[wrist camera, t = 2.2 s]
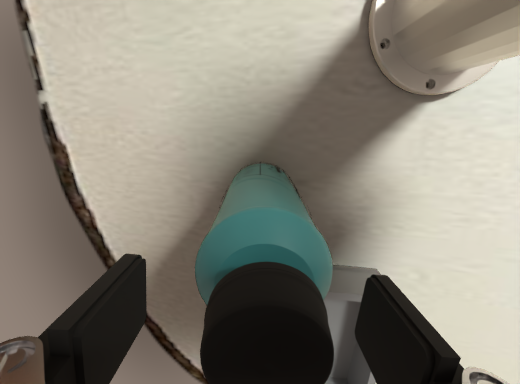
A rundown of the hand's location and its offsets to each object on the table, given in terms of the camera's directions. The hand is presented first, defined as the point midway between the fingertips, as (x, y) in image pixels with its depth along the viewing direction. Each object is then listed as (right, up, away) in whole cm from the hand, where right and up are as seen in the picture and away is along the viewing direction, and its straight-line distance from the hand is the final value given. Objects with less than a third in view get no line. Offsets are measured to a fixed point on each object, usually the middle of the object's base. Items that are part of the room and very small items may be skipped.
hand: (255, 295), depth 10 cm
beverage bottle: (0, +5, +16) cm, 17 cm away
